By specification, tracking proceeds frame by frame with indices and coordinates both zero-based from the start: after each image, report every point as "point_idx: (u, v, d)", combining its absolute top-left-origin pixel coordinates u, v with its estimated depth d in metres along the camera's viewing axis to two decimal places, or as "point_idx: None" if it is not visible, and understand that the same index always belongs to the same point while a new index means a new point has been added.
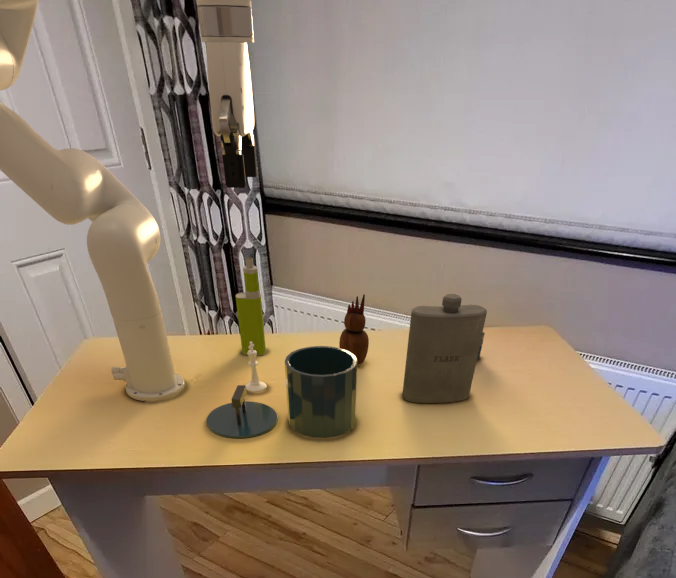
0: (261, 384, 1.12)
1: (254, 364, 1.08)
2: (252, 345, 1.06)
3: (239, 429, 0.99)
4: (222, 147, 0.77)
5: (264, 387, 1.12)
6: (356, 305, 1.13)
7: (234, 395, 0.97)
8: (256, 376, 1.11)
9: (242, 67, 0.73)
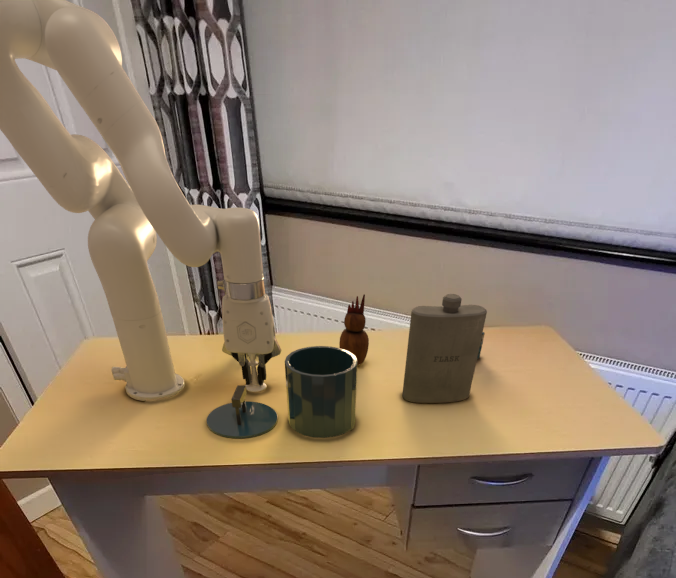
0: None
1: (254, 364, 1.08)
2: None
3: (239, 429, 0.99)
4: (264, 364, 1.08)
5: (264, 387, 1.12)
6: (356, 305, 1.13)
7: (234, 395, 0.97)
8: (256, 376, 1.11)
9: None
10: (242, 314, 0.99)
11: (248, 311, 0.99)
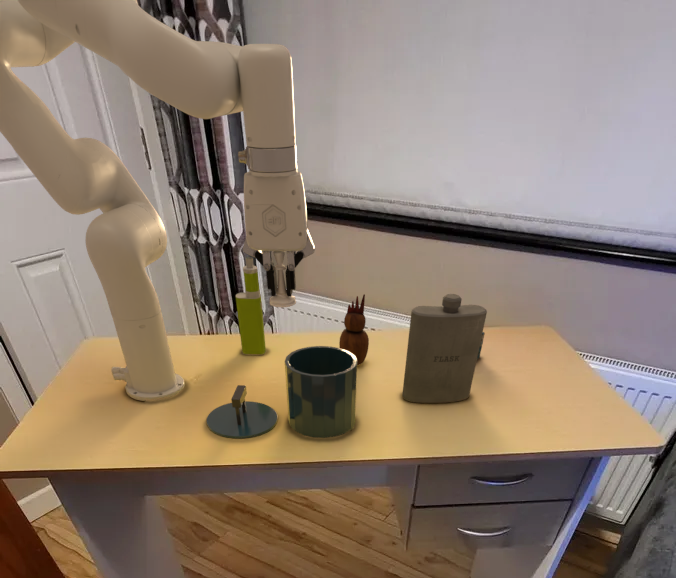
0: (289, 296, 0.93)
1: (281, 268, 0.89)
2: None
3: (239, 429, 0.99)
4: (294, 267, 0.88)
5: (293, 299, 0.92)
6: (356, 305, 1.13)
7: (234, 395, 0.97)
8: (283, 284, 0.91)
9: None
10: (269, 195, 0.80)
11: (277, 189, 0.79)
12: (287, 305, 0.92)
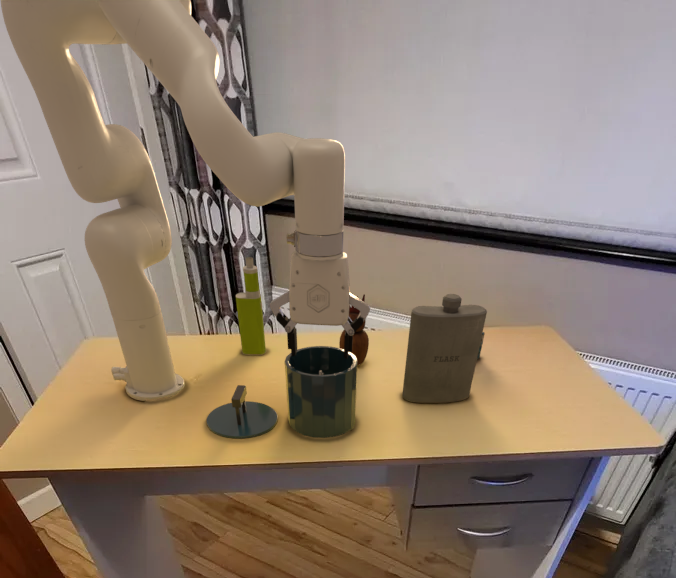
0: None
1: None
2: (321, 374, 0.96)
3: (239, 429, 0.99)
4: (353, 330, 0.89)
5: None
6: None
7: (234, 395, 0.97)
8: None
9: None
10: (315, 275, 0.82)
11: (323, 271, 0.81)
12: None
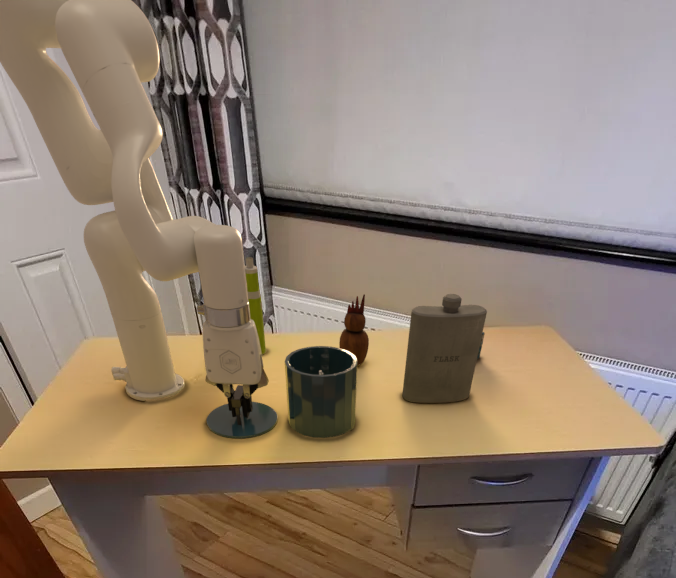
0: None
1: None
2: (321, 374, 0.96)
3: (239, 429, 0.99)
4: (250, 395, 0.97)
5: None
6: (356, 305, 1.13)
7: (234, 395, 0.97)
8: None
9: None
10: (225, 342, 0.89)
11: (232, 339, 0.88)
12: None
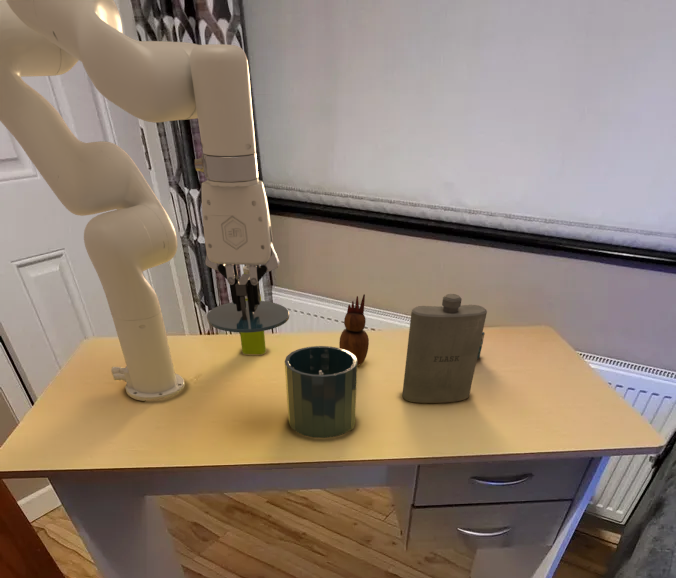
0: None
1: None
2: (321, 374, 0.96)
3: (244, 323, 0.85)
4: (257, 281, 0.83)
5: None
6: (356, 305, 1.13)
7: (239, 281, 0.83)
8: None
9: None
10: (228, 205, 0.75)
11: (236, 200, 0.74)
12: None
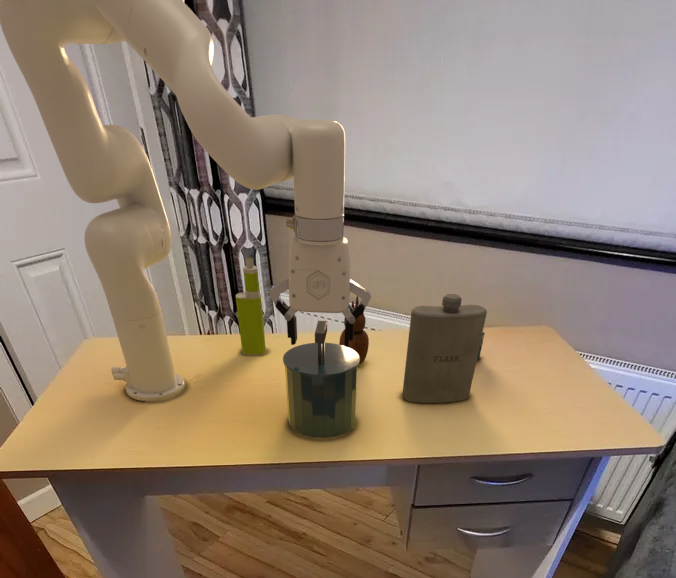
0: None
1: None
2: None
3: (320, 368, 0.91)
4: (354, 317, 0.87)
5: None
6: (356, 305, 1.13)
7: (317, 329, 0.89)
8: None
9: None
10: (315, 261, 0.80)
11: (323, 256, 0.80)
12: None
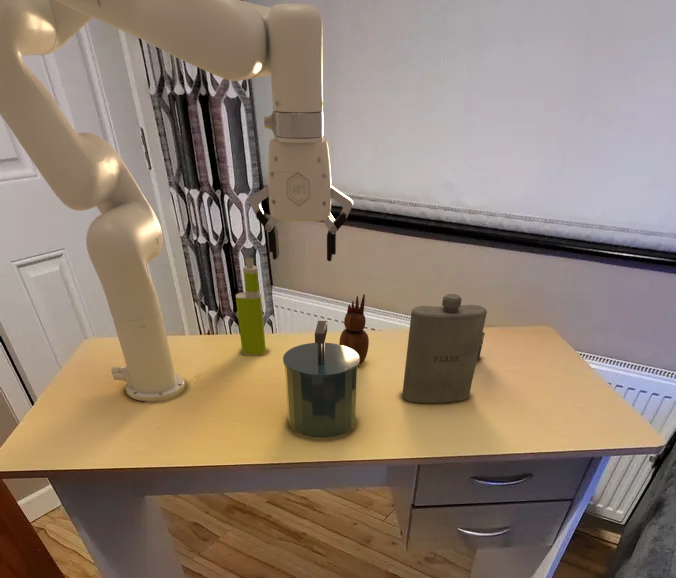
0: None
1: None
2: None
3: (320, 368, 0.91)
4: (336, 227, 0.86)
5: None
6: (356, 305, 1.13)
7: (317, 329, 0.89)
8: None
9: None
10: (294, 162, 0.79)
11: (303, 156, 0.78)
12: None
